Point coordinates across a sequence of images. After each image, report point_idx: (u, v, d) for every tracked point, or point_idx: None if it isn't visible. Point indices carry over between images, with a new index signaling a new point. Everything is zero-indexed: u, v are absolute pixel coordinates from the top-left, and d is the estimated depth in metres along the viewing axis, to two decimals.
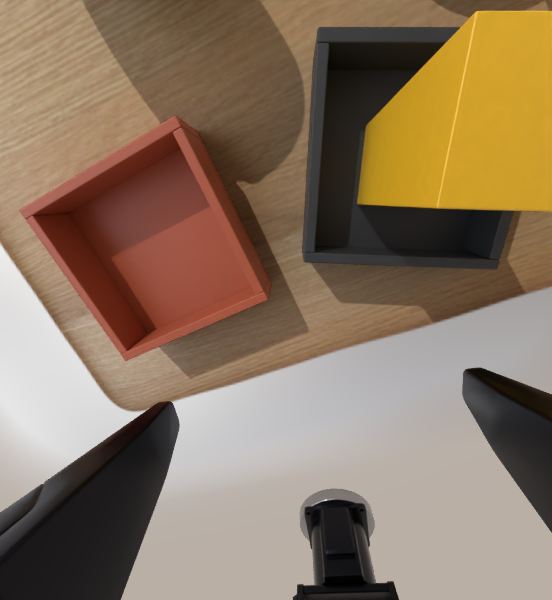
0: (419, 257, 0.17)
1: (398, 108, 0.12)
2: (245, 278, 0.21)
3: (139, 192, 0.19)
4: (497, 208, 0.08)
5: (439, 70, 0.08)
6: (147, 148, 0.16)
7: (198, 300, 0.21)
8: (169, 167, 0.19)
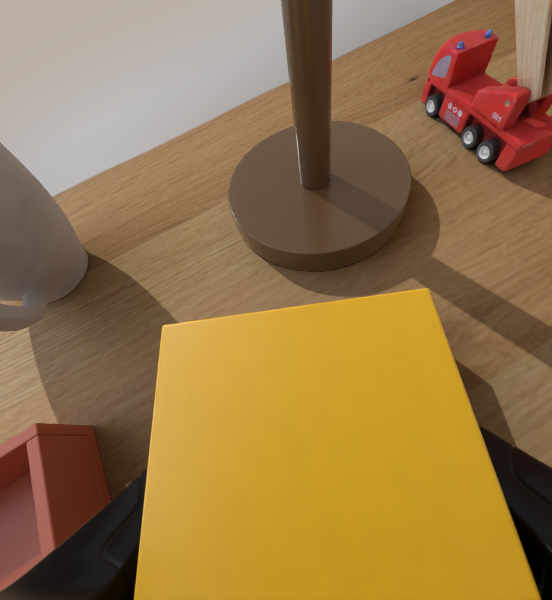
0: None
1: None
2: None
3: None
4: None
5: None
6: None
7: None
8: None
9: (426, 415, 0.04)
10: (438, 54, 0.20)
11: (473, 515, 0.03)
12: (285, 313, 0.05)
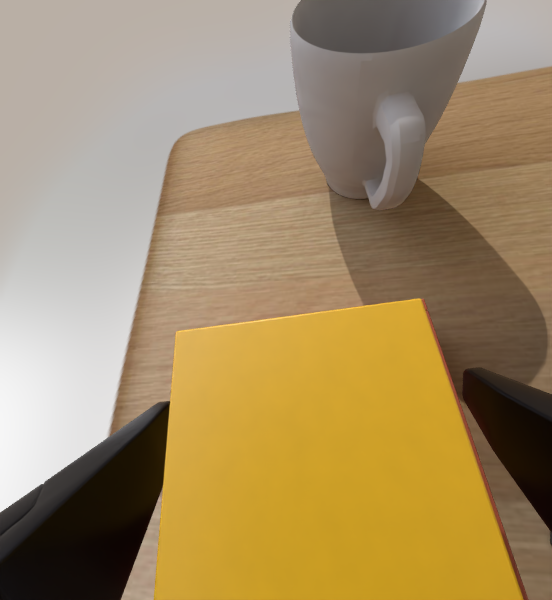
0: None
1: None
2: None
3: None
4: None
5: None
6: None
7: None
8: None
9: (417, 414, 0.04)
10: None
11: (458, 503, 0.04)
12: (289, 320, 0.05)
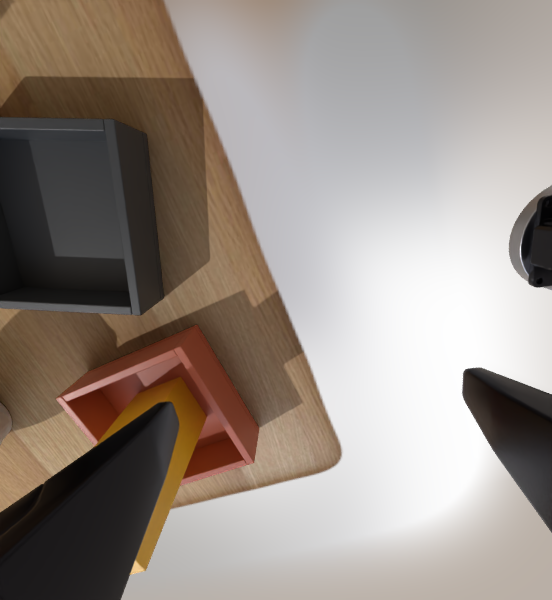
0: (117, 208, 0.17)
1: None
2: None
3: None
4: None
5: None
6: (82, 417, 0.22)
7: None
8: (112, 394, 0.25)
9: None
10: None
11: None
12: None
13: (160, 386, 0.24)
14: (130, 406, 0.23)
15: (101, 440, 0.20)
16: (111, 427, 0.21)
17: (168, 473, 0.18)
